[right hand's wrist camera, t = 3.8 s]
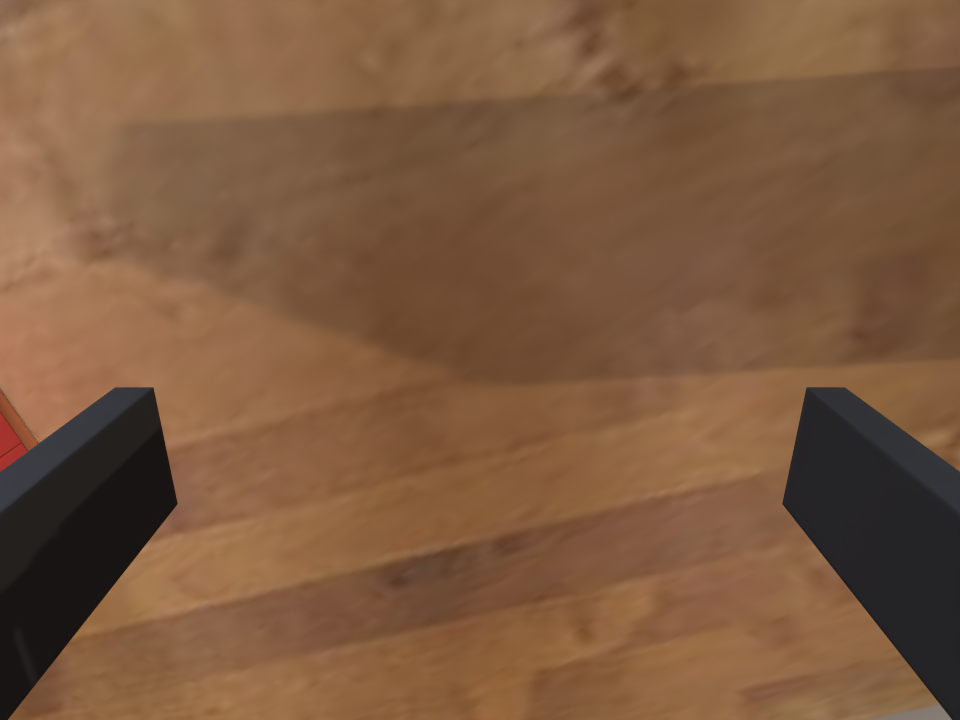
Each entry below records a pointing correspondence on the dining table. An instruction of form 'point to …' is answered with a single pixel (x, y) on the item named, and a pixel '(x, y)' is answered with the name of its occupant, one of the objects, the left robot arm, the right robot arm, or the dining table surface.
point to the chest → (12, 435)
